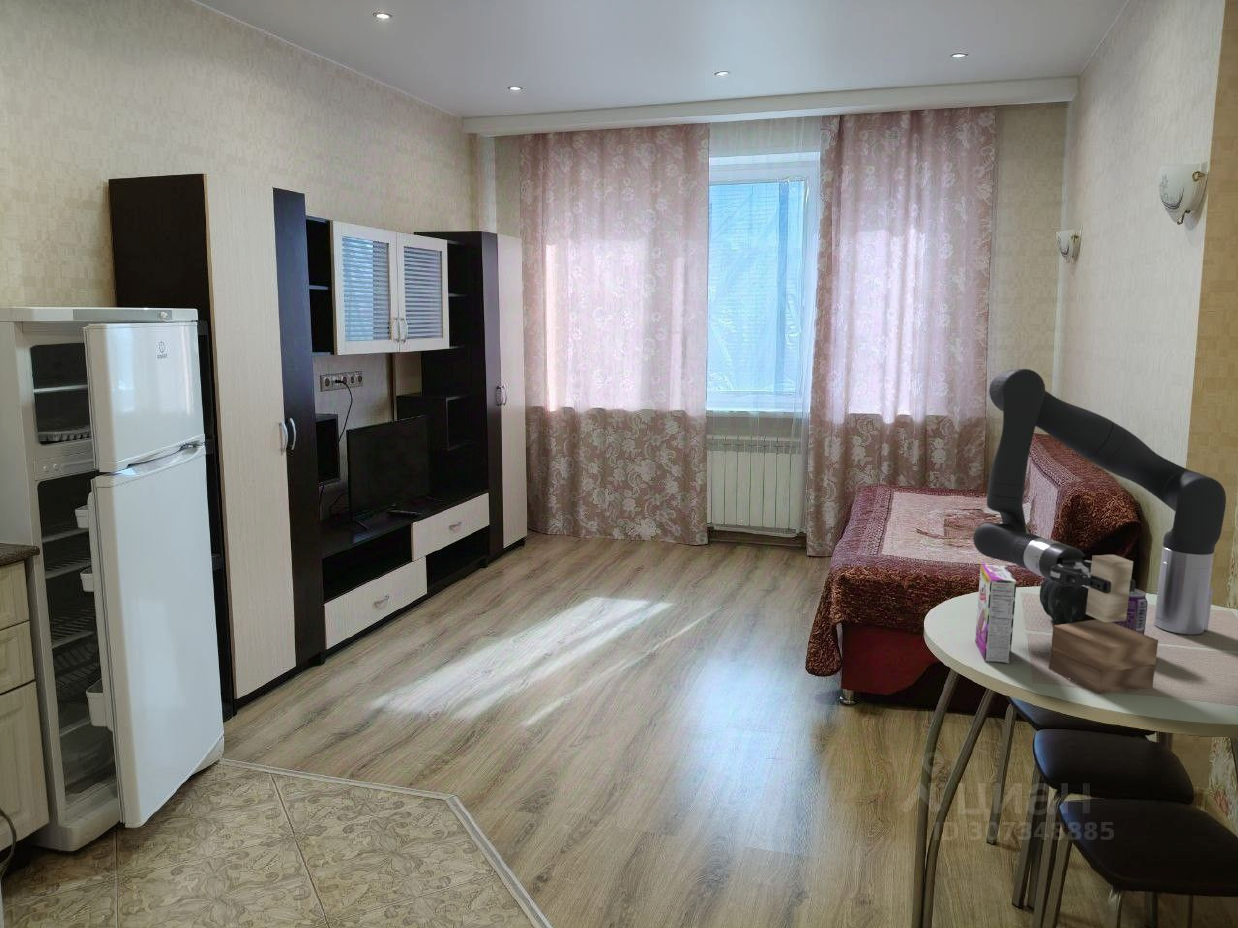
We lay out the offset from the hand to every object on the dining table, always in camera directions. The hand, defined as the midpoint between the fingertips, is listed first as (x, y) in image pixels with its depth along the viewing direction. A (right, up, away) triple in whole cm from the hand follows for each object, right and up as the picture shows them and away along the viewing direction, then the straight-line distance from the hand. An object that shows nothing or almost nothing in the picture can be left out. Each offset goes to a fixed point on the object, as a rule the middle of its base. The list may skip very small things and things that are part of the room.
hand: (1121, 587), depth 165 cm
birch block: (-1, -6, +4) cm, 7 cm away
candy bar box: (-16, -15, +17) cm, 28 cm away
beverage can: (+11, -15, +20) cm, 27 cm away
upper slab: (-1, -13, +5) cm, 14 cm away
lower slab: (-1, -18, +5) cm, 18 cm away
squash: (+9, -13, +35) cm, 38 cm away
